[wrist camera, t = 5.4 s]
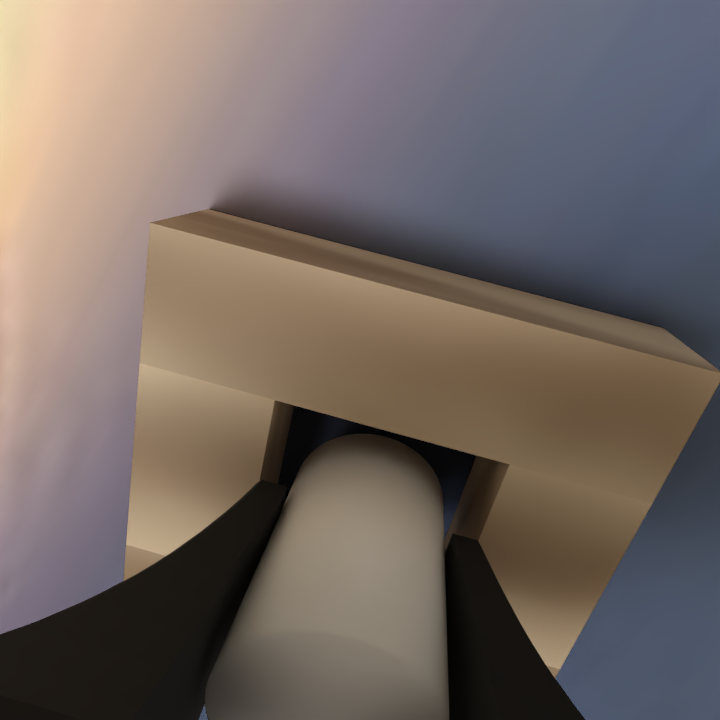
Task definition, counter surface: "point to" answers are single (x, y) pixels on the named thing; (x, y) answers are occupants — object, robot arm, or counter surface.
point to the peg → (344, 596)
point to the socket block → (406, 400)
